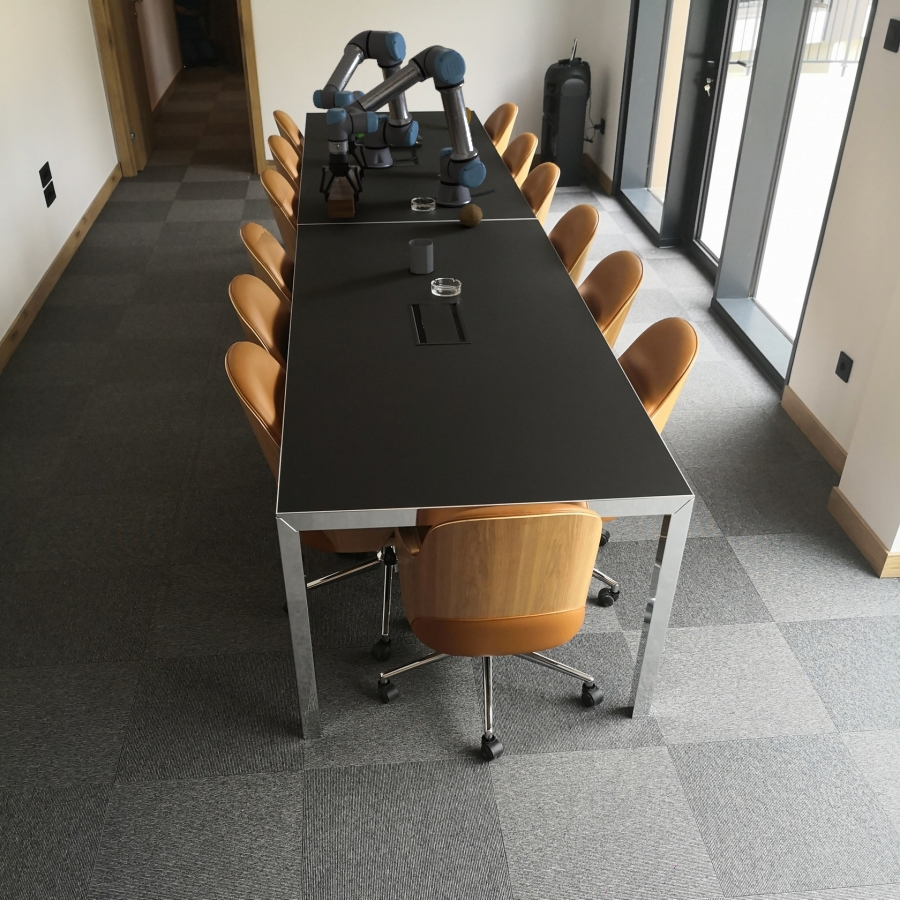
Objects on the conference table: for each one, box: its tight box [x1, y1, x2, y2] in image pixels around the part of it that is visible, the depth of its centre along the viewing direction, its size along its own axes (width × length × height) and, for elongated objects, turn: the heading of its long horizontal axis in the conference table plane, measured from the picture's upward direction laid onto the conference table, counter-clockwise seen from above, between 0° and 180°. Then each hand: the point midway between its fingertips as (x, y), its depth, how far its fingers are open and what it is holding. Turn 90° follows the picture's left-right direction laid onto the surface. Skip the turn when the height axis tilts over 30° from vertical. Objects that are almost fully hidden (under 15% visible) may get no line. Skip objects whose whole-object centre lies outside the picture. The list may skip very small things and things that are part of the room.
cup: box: [408, 237, 434, 275], centre depth 305 cm, size 8×8×10 cm
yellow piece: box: [465, 106, 472, 125], centre depth 487 cm, size 11×11×13 cm
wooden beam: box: [327, 165, 361, 218], centre depth 357 cm, size 51×10×7 cm, turn 1°
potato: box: [458, 203, 484, 228], centre depth 347 cm, size 10×14×8 cm
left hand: (349, 185), depth 373 cm, fingers closed on wooden beam, 10 cm apart
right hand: (342, 209), depth 343 cm, fingers closed on wooden beam, 9 cm apart
